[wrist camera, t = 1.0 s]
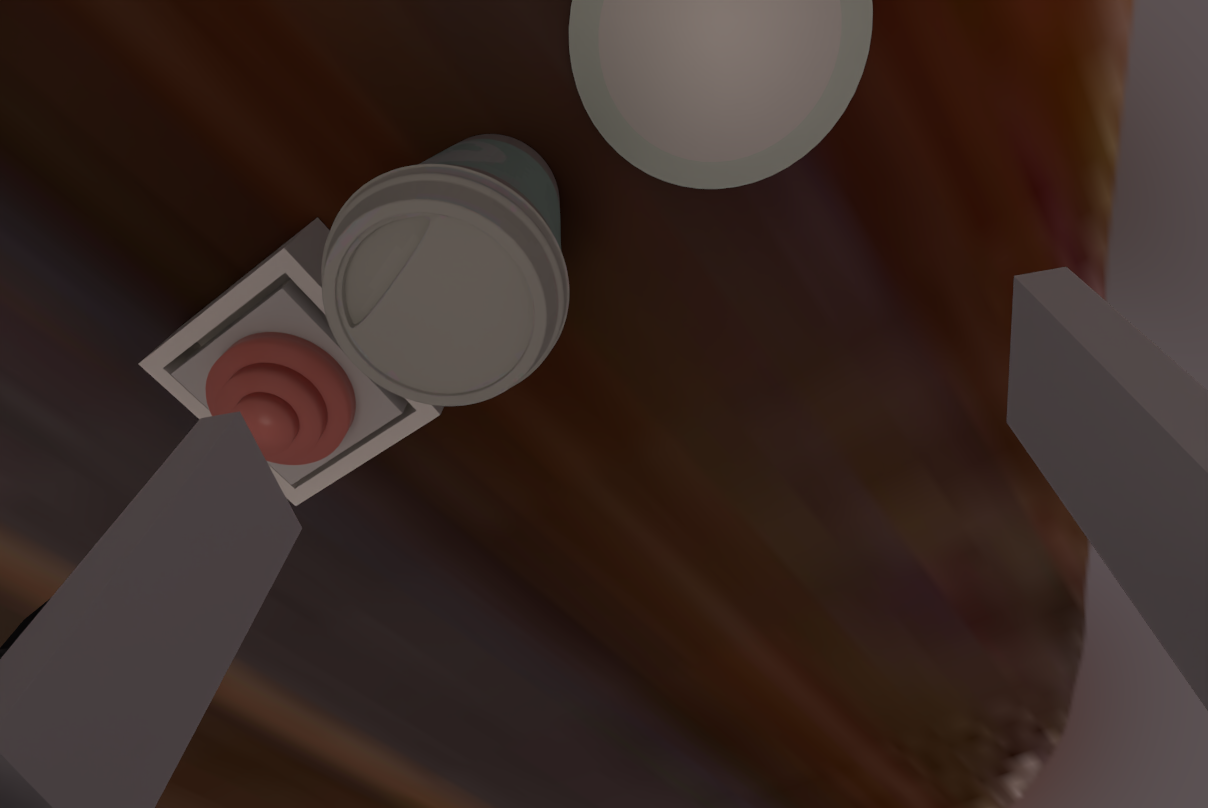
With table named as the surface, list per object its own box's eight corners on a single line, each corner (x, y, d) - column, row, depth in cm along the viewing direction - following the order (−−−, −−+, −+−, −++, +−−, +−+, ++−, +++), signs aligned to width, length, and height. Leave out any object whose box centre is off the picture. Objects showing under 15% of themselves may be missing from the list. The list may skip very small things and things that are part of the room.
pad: (547, 153, 36) (546, 157, 35) (601, -175, 30) (600, -176, 29) (811, 211, 36) (813, 215, 36) (918, -98, 30) (922, -99, 30)
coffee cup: (549, 71, 34) (503, 142, 24) (615, 256, 38) (599, 385, 28) (369, 137, 36) (254, 229, 26) (450, 307, 40) (378, 445, 30)
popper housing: (322, 461, 45) (295, 506, 42) (181, 326, 41) (138, 363, 38) (458, 373, 42) (440, 414, 38) (317, 217, 38) (283, 247, 34)
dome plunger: (306, 461, 42) (267, 523, 38) (191, 354, 39) (135, 408, 35) (413, 391, 40) (383, 449, 35) (299, 270, 37) (252, 318, 32)
